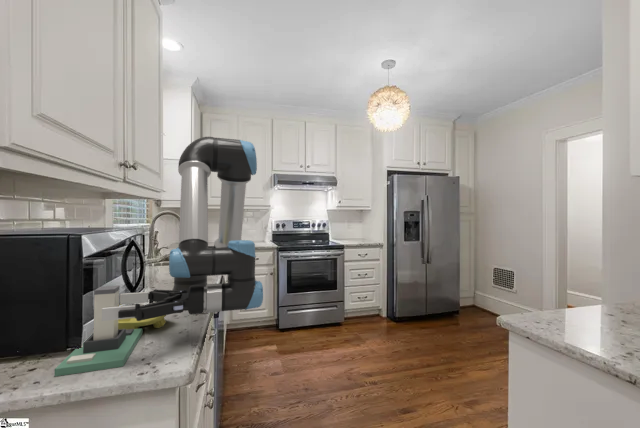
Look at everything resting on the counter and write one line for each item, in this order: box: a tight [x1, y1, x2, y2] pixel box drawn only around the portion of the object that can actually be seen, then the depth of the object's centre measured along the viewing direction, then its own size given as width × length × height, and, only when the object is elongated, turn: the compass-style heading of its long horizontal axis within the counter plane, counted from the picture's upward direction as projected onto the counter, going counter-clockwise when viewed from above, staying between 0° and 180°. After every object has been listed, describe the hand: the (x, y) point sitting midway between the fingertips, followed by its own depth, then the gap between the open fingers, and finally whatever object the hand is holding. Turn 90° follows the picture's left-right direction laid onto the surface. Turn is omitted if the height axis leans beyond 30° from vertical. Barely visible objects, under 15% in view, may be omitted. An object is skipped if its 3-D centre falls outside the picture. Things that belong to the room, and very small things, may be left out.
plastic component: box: [118, 315, 167, 330], centre depth 89 cm, size 20×7×10 cm
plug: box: [93, 285, 120, 341], centre depth 71 cm, size 4×4×14 cm
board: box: [54, 328, 144, 377], centre depth 71 cm, size 20×12×4 cm, turn 21°
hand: (112, 306), depth 72 cm, fingers open, 13 cm apart
